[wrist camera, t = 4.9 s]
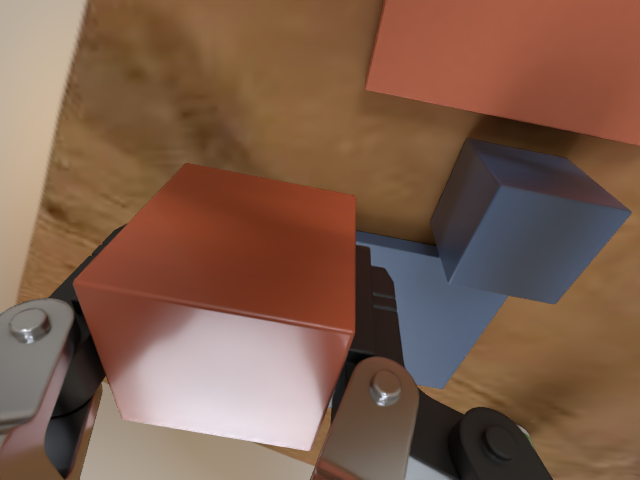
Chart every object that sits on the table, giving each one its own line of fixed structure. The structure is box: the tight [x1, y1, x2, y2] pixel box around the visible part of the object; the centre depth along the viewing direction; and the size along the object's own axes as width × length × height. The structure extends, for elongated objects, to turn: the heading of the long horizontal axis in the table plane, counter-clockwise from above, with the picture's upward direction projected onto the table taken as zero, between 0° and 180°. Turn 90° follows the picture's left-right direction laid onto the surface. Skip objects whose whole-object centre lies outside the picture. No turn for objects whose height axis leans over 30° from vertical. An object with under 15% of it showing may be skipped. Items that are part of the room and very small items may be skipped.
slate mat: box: [356, 231, 508, 389], centre depth 21 cm, size 12×11×1 cm
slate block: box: [430, 139, 632, 304], centre depth 14 cm, size 4×4×4 cm
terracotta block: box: [73, 163, 356, 451], centre depth 9 cm, size 4×4×4 cm
